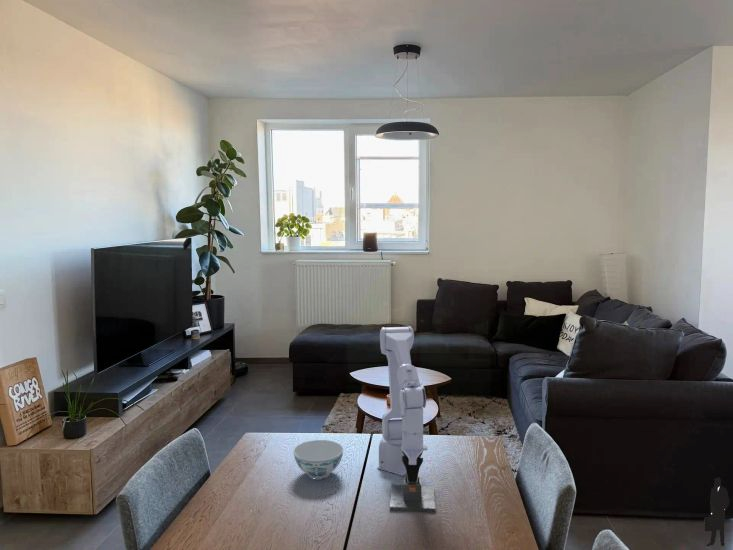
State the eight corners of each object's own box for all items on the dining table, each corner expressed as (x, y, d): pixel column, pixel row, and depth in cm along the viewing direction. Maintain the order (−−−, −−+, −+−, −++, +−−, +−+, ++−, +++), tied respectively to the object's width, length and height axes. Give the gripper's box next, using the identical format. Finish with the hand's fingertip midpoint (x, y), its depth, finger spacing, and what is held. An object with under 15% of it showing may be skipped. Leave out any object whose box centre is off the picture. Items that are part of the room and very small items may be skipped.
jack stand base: (389, 510, 140) (389, 490, 139) (391, 488, 152) (391, 469, 151) (435, 512, 139) (435, 492, 138) (433, 489, 150) (433, 471, 150)
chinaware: (284, 481, 156) (284, 455, 155) (308, 460, 170) (308, 437, 169) (330, 490, 151) (329, 464, 150) (351, 468, 164) (351, 444, 164)
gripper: (428, 441, 136) (428, 492, 137) (426, 421, 150) (426, 467, 151) (400, 441, 136) (400, 491, 138) (401, 420, 151) (401, 466, 152)
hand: (412, 478), depth 144 cm, fingers closed on column, 3 cm apart
